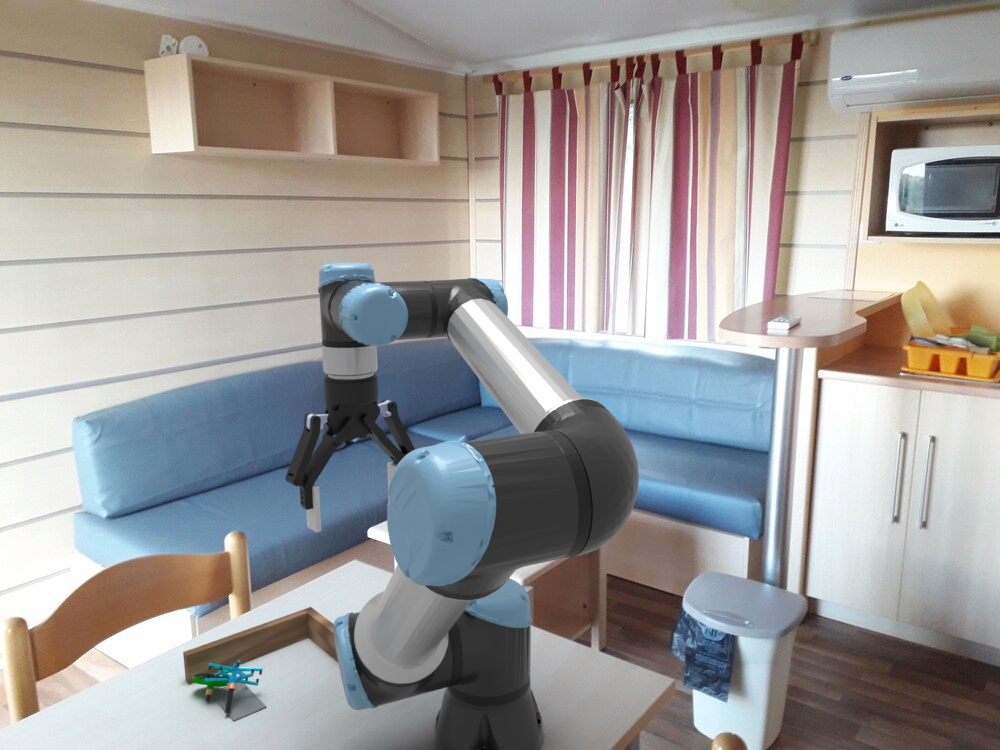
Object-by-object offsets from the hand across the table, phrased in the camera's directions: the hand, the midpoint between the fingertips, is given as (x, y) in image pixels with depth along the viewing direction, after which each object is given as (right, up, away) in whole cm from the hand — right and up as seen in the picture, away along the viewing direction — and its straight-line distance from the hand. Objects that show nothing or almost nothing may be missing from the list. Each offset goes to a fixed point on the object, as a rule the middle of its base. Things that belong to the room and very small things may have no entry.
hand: (356, 517), depth 114 cm
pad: (-19, -28, +4) cm, 34 cm away
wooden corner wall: (-15, -27, +11) cm, 33 cm away
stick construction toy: (-19, -29, +6) cm, 35 cm away
